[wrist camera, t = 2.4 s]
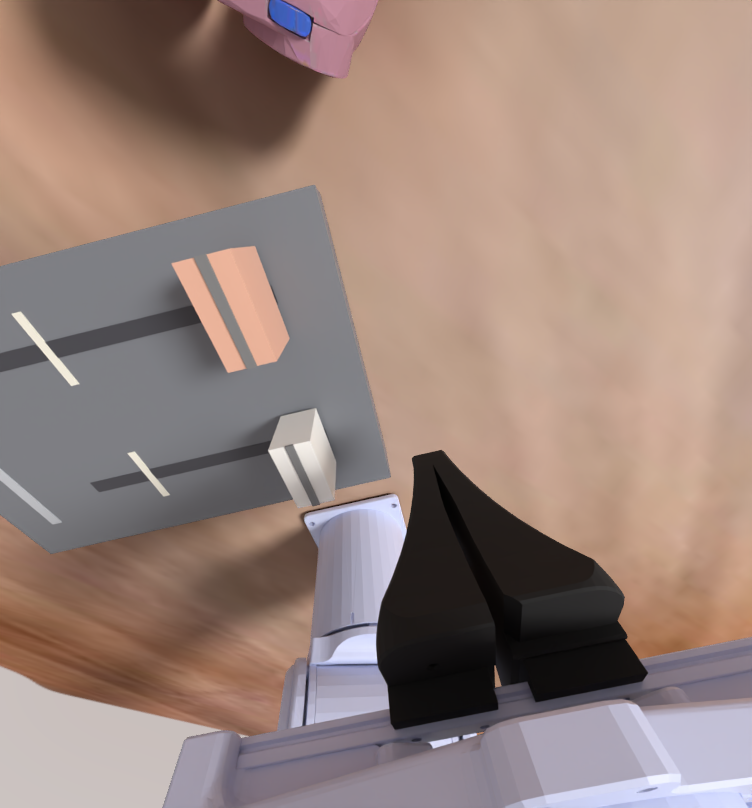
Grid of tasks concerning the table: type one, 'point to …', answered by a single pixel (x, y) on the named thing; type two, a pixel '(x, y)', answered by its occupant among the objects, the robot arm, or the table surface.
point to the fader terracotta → (235, 306)
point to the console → (170, 379)
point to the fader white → (304, 458)
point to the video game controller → (309, 29)
